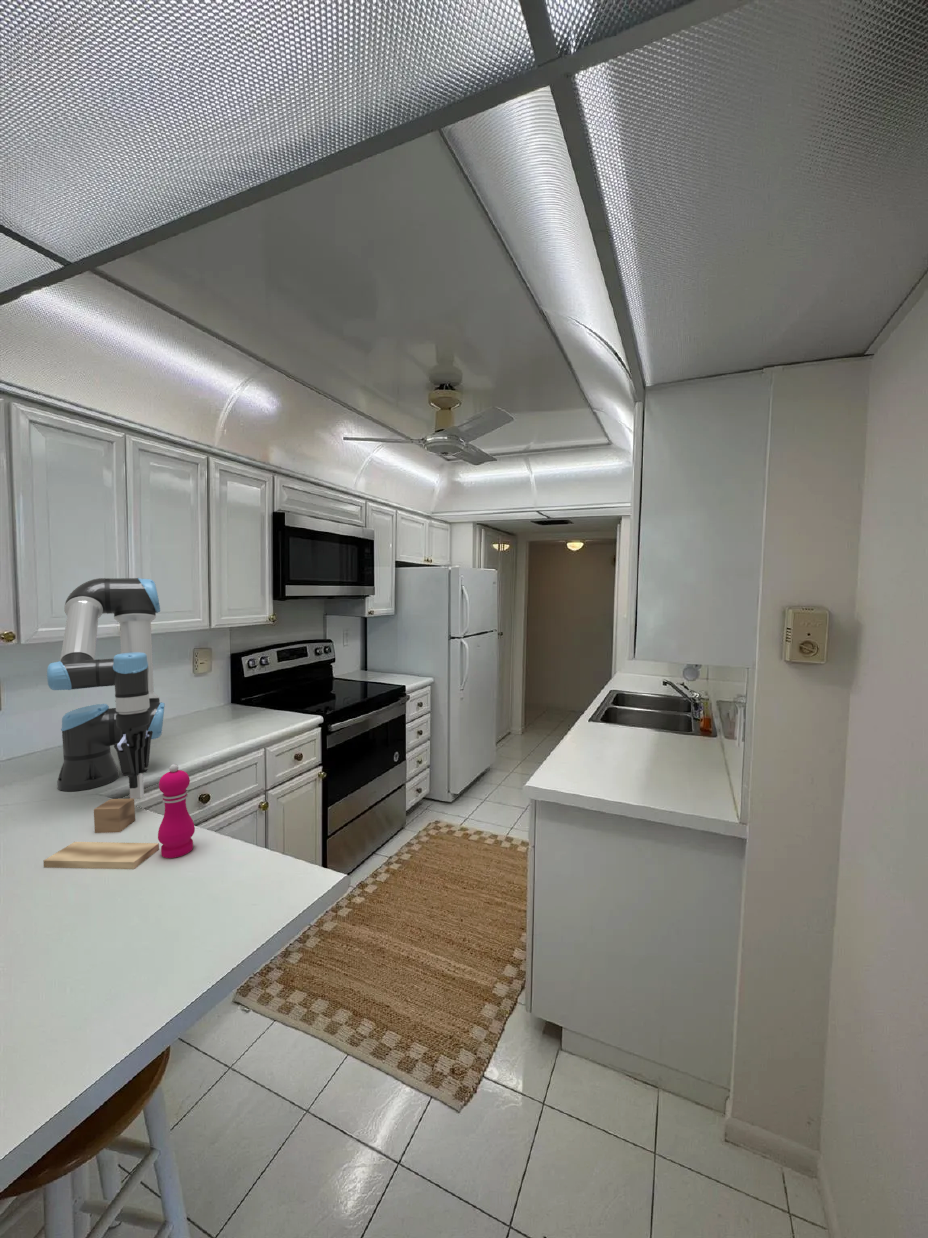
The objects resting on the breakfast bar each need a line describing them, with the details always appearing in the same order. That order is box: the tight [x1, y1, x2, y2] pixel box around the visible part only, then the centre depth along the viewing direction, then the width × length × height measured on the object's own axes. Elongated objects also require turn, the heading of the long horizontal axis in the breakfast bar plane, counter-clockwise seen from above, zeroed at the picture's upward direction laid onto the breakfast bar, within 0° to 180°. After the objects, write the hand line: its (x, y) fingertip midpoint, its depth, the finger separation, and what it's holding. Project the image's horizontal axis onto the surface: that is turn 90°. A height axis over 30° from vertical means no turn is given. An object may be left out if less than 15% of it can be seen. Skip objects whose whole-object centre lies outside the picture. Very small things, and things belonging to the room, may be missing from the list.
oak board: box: [43, 841, 160, 870], centre depth 109 cm, size 8×20×2 cm, turn 87°
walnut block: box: [93, 798, 136, 834], centre depth 124 cm, size 6×6×6 cm
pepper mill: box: [157, 763, 196, 859], centre depth 111 cm, size 7×7×20 cm
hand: (137, 798), depth 132 cm, fingers closed
